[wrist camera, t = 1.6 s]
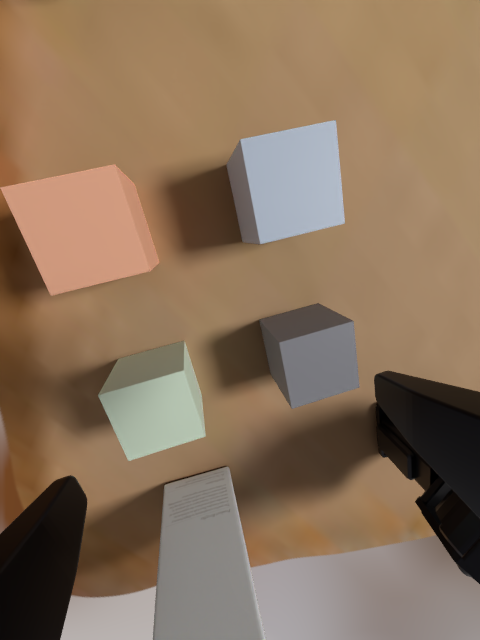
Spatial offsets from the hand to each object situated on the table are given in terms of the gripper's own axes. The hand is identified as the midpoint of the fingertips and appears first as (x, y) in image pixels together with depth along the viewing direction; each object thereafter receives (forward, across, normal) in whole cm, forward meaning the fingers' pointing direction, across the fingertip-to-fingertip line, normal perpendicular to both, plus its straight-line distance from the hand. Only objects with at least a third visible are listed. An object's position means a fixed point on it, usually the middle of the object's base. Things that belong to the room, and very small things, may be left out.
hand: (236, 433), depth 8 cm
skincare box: (+13, +5, +16) cm, 22 cm away
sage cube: (+13, +5, +4) cm, 15 cm away
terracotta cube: (+14, +4, -7) cm, 16 cm away
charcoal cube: (+13, -6, +4) cm, 15 cm away
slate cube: (+13, -6, -7) cm, 16 cm away
